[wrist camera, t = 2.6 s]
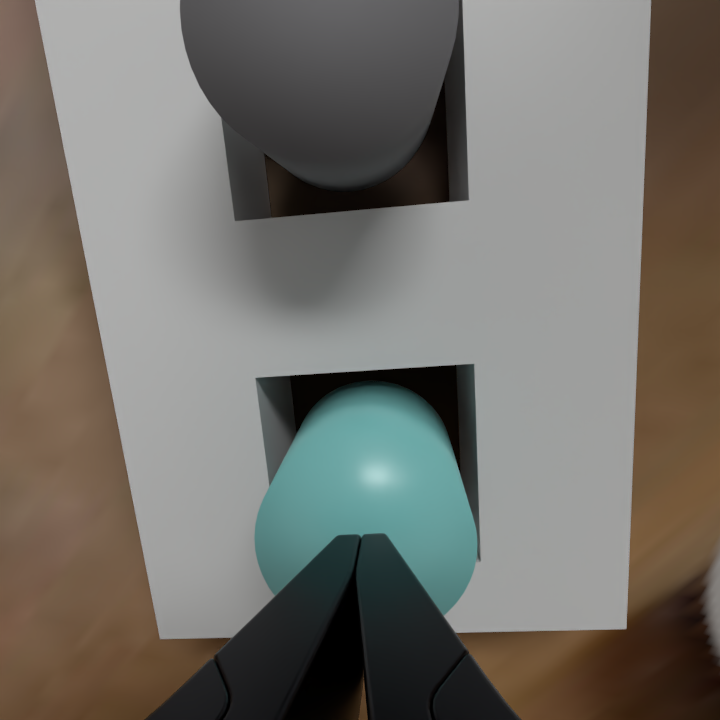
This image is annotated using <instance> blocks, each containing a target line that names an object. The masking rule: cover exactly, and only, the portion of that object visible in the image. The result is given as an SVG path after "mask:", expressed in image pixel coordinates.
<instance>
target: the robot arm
mask: <svg viewBox="0 0 720 720" xmlns="http://www.w3.org/2000/svg"><path fill="white" fill-rule="evenodd" d="M363 678H364V683H365V693H366V704H367V714H368V720H521V719H520V718H519V716H518V715H517V714H516V713H515V712H514V711H513V710H512V708H511V707H510V706H509V705H508V704H507V703H506V701H505V700H504V699H503V697H502V696H501V695H500V693H499V692H498V691H497V689H496V688H495V687H494V685H493V684H492V683H491V681H490V680H489V679H488V678H487V676H486V675H485V673H484V672H483V671H482V669H481V668H480V666H479V665H478V663H477V662H476V661H475V659H474V658H473V656H472V655H470V654H469V651H468V650H467V648H466V647H465V645H464V644H463V643H462V641H461V640H460V638H459V637H458V635H457V634H456V633H455V631H454V630H453V628H452V627H451V625H450V624H449V623H448V621H447V620H446V618H445V617H444V616H443V614H442V613H441V611H440V610H439V608H438V607H437V606H436V604H435V603H434V601H433V600H432V598H431V597H430V596H429V594H428V593H427V591H426V590H425V589H424V587H423V586H422V584H421V583H420V581H419V580H418V579H417V577H416V576H415V574H414V573H413V571H412V570H411V569H410V567H409V566H408V564H407V563H406V562H405V560H404V559H403V557H402V556H401V554H400V553H399V552H398V550H397V549H396V547H395V546H394V544H393V543H392V542H391V540H390V539H389V537H388V536H387V535H386V534H384V533H373V534H364V535H363V536H362V538H361V536H360V535H358V534H347V535H337V536H336V537H335V538H334V539H333V540H332V541H331V542H330V543H329V544H328V545H327V546H326V547H325V548H324V549H323V550H322V551H320V552H319V553H318V554H317V555H316V556H315V557H314V558H313V559H312V560H311V561H310V562H309V563H308V564H307V565H306V566H305V567H304V568H303V569H302V570H301V571H300V572H299V573H298V574H297V575H296V576H295V577H294V578H293V579H292V580H291V581H290V582H289V583H288V584H287V585H286V586H285V587H284V588H283V589H282V590H281V591H280V592H278V593H277V594H276V595H275V596H274V597H273V598H272V599H271V600H270V601H269V602H268V603H267V604H266V605H265V606H264V607H263V608H262V609H261V610H260V611H259V612H258V613H257V614H256V615H255V616H254V617H253V618H252V619H251V620H250V621H249V622H248V623H247V624H246V625H245V626H244V627H243V628H242V629H241V630H240V631H239V632H238V633H236V634H235V635H234V636H233V637H232V638H231V639H230V640H229V641H228V642H227V643H226V644H225V645H224V646H223V647H222V648H221V649H220V650H219V651H218V652H217V653H216V654H215V655H214V659H210V660H209V661H208V662H206V663H205V664H204V665H203V666H202V667H201V668H200V669H199V670H198V671H197V672H196V673H195V674H194V675H193V676H192V677H191V678H190V679H189V680H188V681H187V682H186V683H185V684H184V685H182V686H181V687H180V688H179V689H178V690H177V691H176V692H175V693H174V694H173V695H172V696H171V697H170V698H168V699H167V700H166V701H165V702H164V703H163V704H162V705H161V706H160V707H159V708H157V709H156V710H155V711H154V712H153V713H152V714H150V715H149V716H148V717H147V718H146V719H145V720H358V718H359V711H360V704H361V697H362V688H363Z"/></svg>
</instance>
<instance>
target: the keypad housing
mask: <svg viewBox="0 0 720 720" xmlns="http://www.w3.org/2000/svg"><path fill="white" fill-rule="evenodd" d="M35 4H36V9H37V14H38V19H39V24H40V29H41V34H42V39H43V44H44V50H45V55H46V60H47V65H48V70H49V75H50V80H51V85H52V90H53V95H54V101H55V106H56V111H57V116H58V121H59V126H60V131H61V136H62V141H63V146H64V152H65V157H66V162H67V167H68V172H69V177H70V182H71V187H72V192H73V197H74V203H75V208H76V213H77V218H78V223H79V228H80V233H81V238H82V243H83V248H84V253H85V259H86V264H87V269H88V274H89V279H90V284H91V289H92V294H93V299H94V304H95V310H96V315H97V320H98V325H99V330H100V335H101V340H102V345H103V350H104V355H105V361H106V366H107V371H108V376H109V381H110V386H111V391H112V396H113V401H114V406H115V412H116V417H117V422H118V427H119V432H120V437H121V442H122V447H123V452H124V457H125V463H126V468H127V473H128V478H129V483H130V488H131V493H132V498H133V503H134V508H135V514H136V519H137V524H138V529H139V534H140V539H141V544H142V549H143V554H144V559H145V564H146V570H147V575H148V580H149V585H150V590H151V595H152V600H153V605H154V610H155V615H156V621H157V626H158V631H159V636H160V639H191V638H232V637H233V636H234V635H235V634H236V633H238V632H239V631H240V630H241V629H242V628H243V627H244V626H245V625H246V624H247V623H248V622H249V621H250V620H251V619H252V618H253V617H254V616H255V615H256V614H257V613H258V612H259V611H260V610H261V609H262V608H263V607H264V606H265V605H266V604H267V603H268V602H269V601H270V600H271V599H272V598H273V597H274V596H275V595H274V594H273V593H272V591H271V590H270V588H269V587H268V585H267V583H266V581H265V579H264V577H263V575H262V573H261V570H260V567H259V565H258V561H257V556H256V552H255V541H254V535H255V523H256V519H257V514H258V511H259V508H260V506H261V503H262V500H263V498H264V496H265V494H266V492H267V490H268V489H269V487H270V485H271V483H272V481H273V479H274V477H275V475H276V473H277V471H278V469H279V467H280V465H281V463H282V461H283V459H284V457H285V455H286V454H287V452H288V450H289V448H290V446H291V444H292V442H293V440H294V438H295V436H296V425H295V417H294V408H293V399H292V391H291V382H290V375H306V374H321V373H337V372H353V371H368V370H384V369H399V368H415V367H431V366H446V365H456V373H457V398H458V422H459V447H460V471H461V479H462V482H463V485H464V489H465V492H466V495H467V499H468V502H469V505H470V509H471V512H472V515H473V519H474V523H475V527H476V533H477V542H478V543H477V558H476V563H475V569H474V571H473V574H472V577H471V580H470V582H469V584H468V586H467V588H466V590H465V592H464V593H463V595H462V596H461V598H460V599H459V600H458V602H457V603H456V604H455V605H454V606H453V607H452V608H451V609H450V610H449V612H448V613H446V614H445V615H444V617H445V618H446V620H447V621H448V623H449V624H450V625H451V627H452V628H453V630H454V631H455V633H468V632H514V631H560V630H607V629H626V626H627V600H628V575H629V550H630V524H631V499H632V474H633V448H634V423H635V398H636V372H637V347H638V322H639V296H640V271H641V246H642V220H643V195H644V170H645V144H646V119H647V93H648V68H649V43H650V17H651V0H459V16H458V24H457V31H456V38H455V42H454V46H453V50H452V53H451V57H450V61H449V64H448V67H447V70H446V74H445V77H444V79H445V104H446V128H447V153H448V177H449V202H444V203H433V204H422V205H411V206H399V207H388V208H377V209H366V210H355V211H344V212H333V213H322V214H310V215H299V216H288V217H277V218H272V217H271V208H270V200H269V191H268V182H267V174H266V165H265V156H264V153H263V152H262V151H261V150H259V149H258V148H257V147H255V146H254V145H253V144H251V143H250V142H249V141H247V140H246V139H245V138H243V137H242V136H241V135H240V134H238V133H237V132H236V131H234V130H233V129H232V128H231V127H230V126H229V125H228V124H227V123H226V122H225V121H224V120H223V119H222V118H221V117H220V116H219V114H218V113H217V112H216V110H215V109H214V108H213V107H212V105H211V104H210V103H209V101H208V100H207V98H206V96H205V95H204V93H203V91H202V90H201V88H200V86H199V84H198V82H197V80H196V77H195V75H194V73H193V71H192V69H191V66H190V63H189V59H188V56H187V53H186V50H185V45H184V40H183V35H182V30H181V19H180V0H35Z"/></svg>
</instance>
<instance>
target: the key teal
mask: <svg viewBox="0 0 720 720" xmlns="http://www.w3.org/2000/svg"><path fill="white" fill-rule="evenodd" d="M373 533H384V534H386V535H387V536H388V537H389V539H390V540H391V542H392V543H393V544H394V546H395V547H396V549H397V550H398V552H399V553H400V554H401V556H402V557H403V559H404V560H405V562H406V563H407V564H408V566H409V567H410V569H411V570H412V571H413V573H414V574H415V576H416V577H417V579H418V580H419V581H420V583H421V584H422V586H423V587H424V589H425V590H426V591H427V593H428V594H429V596H430V597H431V598H432V600H433V601H434V603H435V604H436V606H437V607H438V608H439V610H440V611H441V613H442V614H443V616H444V615H445V614H446V613H448V612H449V610H450V609H451V608H452V607H453V606H454V605H455V604H456V603H457V602H458V600H459V599H460V598H461V596H462V595H463V593H464V592H465V590H466V588H467V586H468V584H469V582H470V580H471V577H472V574H473V571H474V569H475V563H476V558H477V543H478V542H477V533H476V527H475V523H474V519H473V515H472V512H471V509H470V505H469V502H468V499H467V495H466V492H465V489H464V485H463V482H462V479H461V475H460V472H459V469H458V465H457V462H456V459H455V455H454V452H453V449H452V445H451V442H450V439H449V435H448V432H447V430H446V427H445V425H444V423H443V421H442V420H441V418H440V416H439V415H438V413H437V412H436V411H435V409H434V408H433V407H432V406H431V405H430V404H429V403H428V402H427V401H426V400H425V399H423V398H422V397H421V396H419V395H418V394H417V393H415V392H413V391H411V390H409V389H408V388H405V387H403V386H400V385H397V384H394V383H390V382H384V381H360V382H354V383H350V384H347V385H344V386H342V387H339V388H337V389H335V390H333V391H331V392H330V393H328V394H327V395H325V396H324V397H323V398H321V399H320V400H319V401H318V402H317V403H316V404H315V405H314V406H313V407H312V408H311V410H310V411H309V412H308V414H307V415H306V417H305V419H304V421H303V422H302V424H301V426H300V428H299V430H298V432H297V434H296V436H295V438H294V440H293V442H292V444H291V446H290V448H289V450H288V452H287V454H286V455H285V457H284V459H283V461H282V463H281V465H280V467H279V469H278V471H277V473H276V475H275V477H274V479H273V481H272V483H271V485H270V487H269V489H268V490H267V492H266V494H265V496H264V498H263V500H262V503H261V506H260V508H259V511H258V514H257V519H256V523H255V535H254V541H255V552H256V556H257V561H258V565H259V567H260V570H261V573H262V575H263V577H264V579H265V581H266V583H267V585H268V587H269V588H270V590H271V591H272V593H273V594H274V595H276V594H277V593H278V592H280V591H281V590H282V589H283V588H284V587H285V586H286V585H287V584H288V583H289V582H290V581H291V580H292V579H293V578H294V577H295V576H296V575H297V574H298V573H299V572H300V571H301V570H302V569H303V568H304V567H305V566H306V565H307V564H308V563H309V562H310V561H311V560H312V559H313V558H314V557H315V556H316V555H317V554H318V553H319V552H320V551H322V550H323V549H324V548H325V547H326V546H327V545H328V544H329V543H330V542H331V541H332V540H333V539H334V538H335V537H336V536H337V535H347V534H358V535H360V536H361V538H362V536H363V535H364V534H373Z"/></svg>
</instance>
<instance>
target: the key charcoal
mask: <svg viewBox="0 0 720 720" xmlns="http://www.w3.org/2000/svg"><path fill="white" fill-rule="evenodd" d="M458 16H459V0H180V19H181V30H182V35H183V40H184V45H185V50H186V53H187V56H188V59H189V63H190V66H191V69H192V71H193V73H194V75H195V77H196V80H197V82H198V84H199V86H200V88H201V90H202V91H203V93H204V95H205V96H206V98H207V100H208V101H209V103H210V104H211V105H212V107H213V108H214V109H215V110H216V112H217V113H218V114H219V116H220V117H221V118H222V119H223V120H224V121H225V122H226V123H227V124H228V125H229V126H230V127H231V128H232V129H233V130H234V131H236V132H237V133H238V134H240V135H241V136H242V137H243V138H245V139H246V140H247V141H249V142H250V143H251V144H253V145H254V146H255V147H257V148H258V149H259V150H261V151H262V152H263V153H265V154H266V155H268V156H269V157H270V158H272V159H273V160H274V161H276V162H277V163H278V164H280V165H281V166H282V167H284V168H285V169H286V170H288V171H289V172H290V173H292V174H293V175H294V176H296V177H297V178H299V179H301V180H302V181H304V182H306V183H308V184H310V185H312V186H315V187H317V188H321V189H325V190H329V191H337V192H352V191H358V190H363V189H367V188H370V187H373V186H376V185H378V184H380V183H382V182H384V181H386V180H387V179H389V178H391V177H392V176H394V175H395V174H396V173H397V172H399V171H400V170H401V169H402V168H403V167H404V166H405V165H406V164H407V163H408V162H409V161H410V160H411V159H412V157H413V156H414V155H415V153H416V152H417V150H418V149H419V147H420V146H421V144H422V142H423V140H424V138H425V136H426V133H427V131H428V128H429V126H430V123H431V119H432V116H433V113H434V110H435V106H436V103H437V100H438V97H439V93H440V90H441V87H442V83H443V80H444V77H445V74H446V70H447V67H448V64H449V61H450V57H451V53H452V50H453V46H454V42H455V38H456V31H457V24H458Z"/></svg>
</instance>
